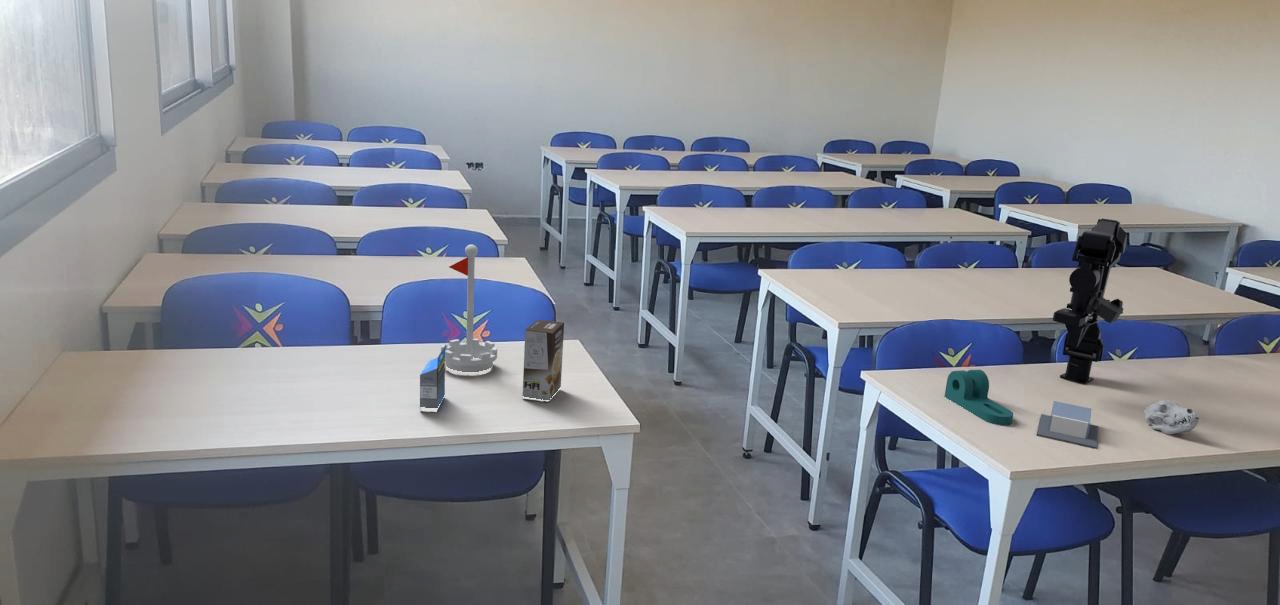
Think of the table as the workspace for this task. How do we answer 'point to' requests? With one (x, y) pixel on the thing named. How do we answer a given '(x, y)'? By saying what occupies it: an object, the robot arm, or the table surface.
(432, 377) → the label tape cartridge
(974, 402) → the bracket
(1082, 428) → the book block
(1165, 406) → the skull
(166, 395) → the table surface
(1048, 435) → the mat
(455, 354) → the flag stand
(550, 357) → the coffee box
